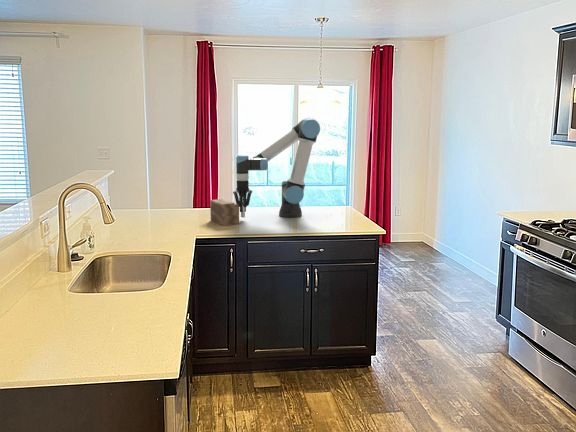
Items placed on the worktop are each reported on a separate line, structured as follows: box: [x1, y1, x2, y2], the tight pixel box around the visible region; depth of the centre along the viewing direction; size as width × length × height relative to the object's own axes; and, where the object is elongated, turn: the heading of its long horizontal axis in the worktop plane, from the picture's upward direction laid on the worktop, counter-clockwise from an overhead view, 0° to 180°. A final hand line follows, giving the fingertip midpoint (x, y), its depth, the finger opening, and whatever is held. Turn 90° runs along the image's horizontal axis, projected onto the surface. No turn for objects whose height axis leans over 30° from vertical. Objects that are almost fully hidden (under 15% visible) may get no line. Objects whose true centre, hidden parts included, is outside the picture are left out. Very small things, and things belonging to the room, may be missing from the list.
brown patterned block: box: [209, 198, 240, 227], centre depth 360 cm, size 11×18×13 cm, turn 32°
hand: (242, 217), depth 368 cm, fingers closed
